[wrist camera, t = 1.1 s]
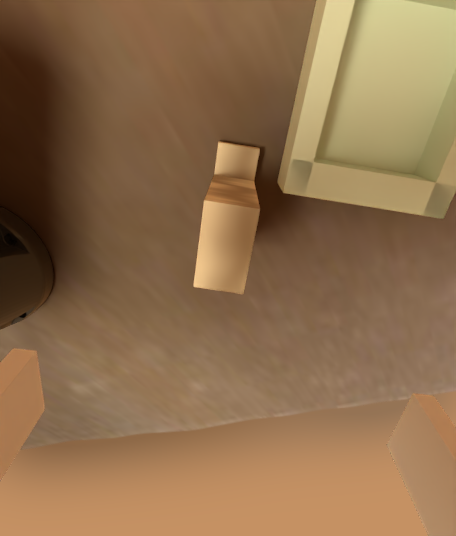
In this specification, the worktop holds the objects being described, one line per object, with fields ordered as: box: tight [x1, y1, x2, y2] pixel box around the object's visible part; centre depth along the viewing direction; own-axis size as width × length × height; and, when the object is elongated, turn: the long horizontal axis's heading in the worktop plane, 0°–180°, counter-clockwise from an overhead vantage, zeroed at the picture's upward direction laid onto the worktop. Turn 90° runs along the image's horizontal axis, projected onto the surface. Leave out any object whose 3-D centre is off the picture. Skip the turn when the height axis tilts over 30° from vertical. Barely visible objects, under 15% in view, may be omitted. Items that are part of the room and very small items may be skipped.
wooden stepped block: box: [193, 141, 260, 294], centre depth 30 cm, size 4×10×12 cm, turn 171°
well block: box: [277, 0, 456, 219], centre depth 28 cm, size 15×19×5 cm
